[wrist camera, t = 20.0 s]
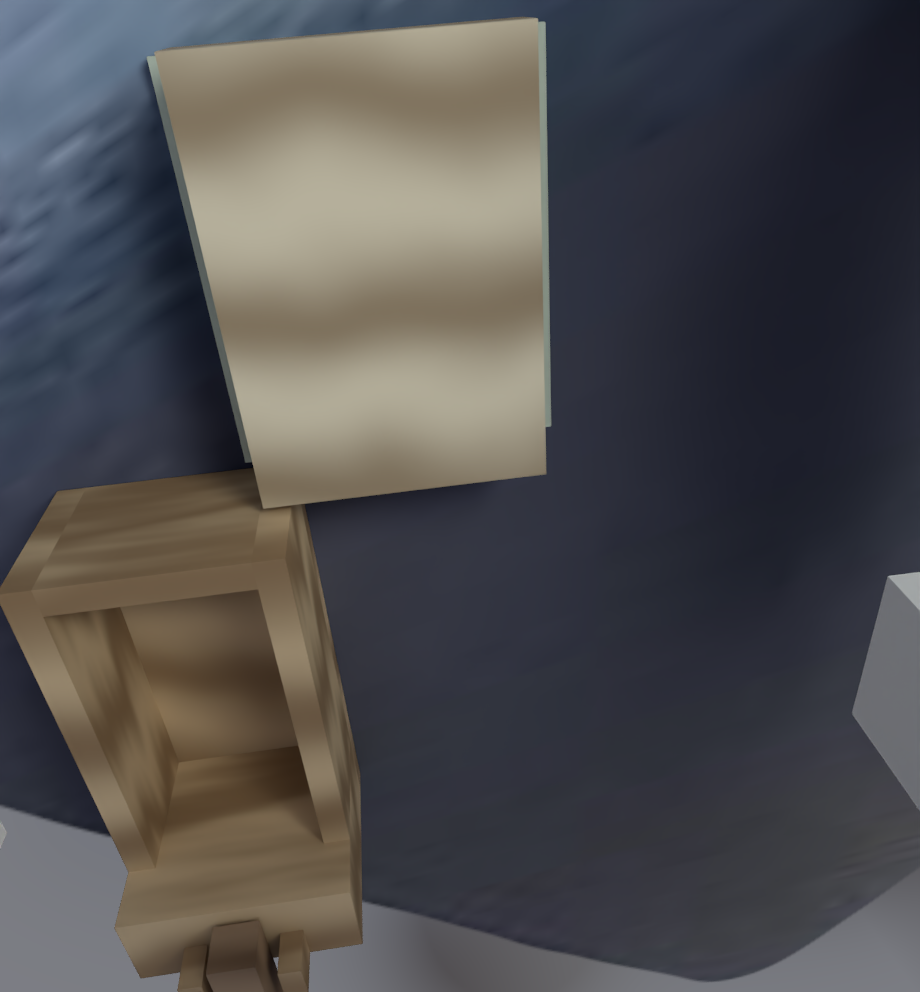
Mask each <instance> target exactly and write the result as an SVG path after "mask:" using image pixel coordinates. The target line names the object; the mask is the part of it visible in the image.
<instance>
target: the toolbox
mask: <svg viewBox="0 0 920 992" xmlns="http://www.w3.org/2000/svg"><path fill="white" fill-rule="evenodd" d="M0 605H1V607H2V609H3V611H4V613H5V615H6V617H7V620H8V622H9V624H10V626H11V628H12V630H13V632H14V634H15V636H16V638H17V640H18V643H19V645H20V647H21V649H22V651H23V653H24V655H25V657H26V659H27V661H28V663H29V666H30V668H31V670H32V672H33V674H34V676H35V678H36V680H37V682H38V684H39V686H40V688H41V691H42V693H43V695H44V697H45V699H46V701H47V703H48V705H49V707H50V709H51V711H52V714H53V716H54V718H55V720H56V722H57V724H58V726H59V728H60V730H61V732H62V734H63V737H64V739H65V741H66V743H67V745H68V747H69V749H70V751H71V753H72V755H73V757H74V760H75V762H76V764H77V766H78V768H79V770H80V772H81V774H82V776H83V778H84V780H85V782H86V785H87V787H88V789H89V791H90V793H91V795H92V797H93V799H94V801H95V803H96V805H97V808H98V810H99V812H100V814H101V816H102V818H103V820H104V822H105V824H106V826H107V828H108V831H109V833H110V835H111V837H112V839H113V841H114V843H115V845H116V847H117V849H118V851H119V854H120V856H121V858H122V860H123V862H124V864H125V866H126V868H127V870H128V876H127V880H126V884H125V888H124V892H123V896H122V900H121V904H120V908H119V912H118V916H117V920H116V924H115V930H116V932H117V934H118V936H119V938H120V940H121V942H122V944H123V946H124V947H125V949H126V951H127V953H128V955H129V957H130V959H131V961H132V963H133V965H134V967H135V968H136V970H137V972H138V974H139V976H140V978H146V977H153V976H159V975H166V974H172V973H178V972H180V978H179V984H178V989H177V991H178V992H213V990H212V988H211V986H210V983H209V981H208V979H207V977H206V970H207V963H208V956H209V949H210V943H211V936H212V929H213V927H219V926H226V925H232V924H239V923H245V922H252V921H258V920H260V923H261V926H262V928H263V931H264V934H265V937H266V940H267V943H268V945H269V948H270V951H271V954H272V957H273V958H274V957H279V961H278V974H277V975H278V977H279V980H280V983H281V986H282V989H283V991H284V992H308V988H309V965H310V952H313V951H320V950H326V949H333V948H339V947H345V946H351V945H358V944H362V943H363V941H362V868H361V799H360V771H359V766H358V761H357V756H356V751H355V747H354V742H353V737H352V732H351V727H350V722H349V717H348V713H347V708H346V703H345V698H344V693H343V688H342V683H341V679H340V674H339V669H338V664H337V659H336V654H335V649H334V645H333V640H332V635H331V630H330V625H329V620H328V615H327V611H326V606H325V601H324V596H323V591H322V586H321V581H320V577H319V572H318V567H317V562H316V557H315V552H314V547H313V543H312V538H311V533H310V528H309V523H308V518H307V513H306V509H305V504H298V505H290V506H282V507H274V508H266V509H263V505H262V501H261V497H260V493H259V489H258V484H257V480H256V476H255V472H254V468H248V469H240V470H231V471H223V472H215V473H206V474H198V475H189V476H181V477H173V478H164V479H156V480H147V481H139V482H131V483H122V484H114V485H105V486H97V487H89V488H80V489H72V490H64V491H57V492H56V494H55V496H54V498H53V499H52V501H51V503H50V504H49V506H48V508H47V509H46V511H45V513H44V514H43V516H42V518H41V519H40V521H39V523H38V525H37V526H36V528H35V530H34V531H33V533H32V535H31V536H30V538H29V540H28V541H27V543H26V545H25V546H24V548H23V550H22V552H21V553H20V555H19V557H18V558H17V560H16V562H15V563H14V565H13V567H12V568H11V570H10V572H9V573H8V575H7V577H6V579H5V580H4V582H3V584H2V585H1V587H0Z"/></svg>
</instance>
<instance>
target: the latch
mask: <svg viewBox="0 0 920 992" xmlns="http://www.w3.org/2000/svg"><path fill="white" fill-rule="evenodd" d="M277 974H278V971H277V968H276V965H275V962H274V960H273V957H272V954H271V951H270V948H269V945H268V943H267V940H266V937H265V934H264V931H263V928H262V926H261V923H260V920H258V921H252V922H245V923H239V924H232V925H226V926H219V927H213V929H212V936H211V943H210V949H209V956H208V963H207V970H206V977H207V979H208V981H209V983H210V986H211V988H212V990H213V992H284V991H283V989H282V986H281V983H280V980H279V977H278V975H277Z"/></svg>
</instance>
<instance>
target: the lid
mask: <svg viewBox="0 0 920 992" xmlns="http://www.w3.org/2000/svg"><path fill="white" fill-rule="evenodd" d="M154 53H155V57H156V61H157V65H158V70H159V74H160V78H161V82H162V86H163V91H164V95H165V99H166V103H167V107H168V112H169V116H170V120H171V124H172V128H173V132H174V137H175V141H176V145H177V149H178V153H179V158H180V162H181V166H182V170H183V174H184V179H185V183H186V187H187V191H188V195H189V199H190V204H191V208H192V212H193V216H194V220H195V225H196V229H197V233H198V237H199V241H200V246H201V250H202V254H203V258H204V262H205V267H206V271H207V275H208V279H209V283H210V287H211V292H212V296H213V300H214V304H215V308H216V313H217V317H218V321H219V325H220V329H221V334H222V338H223V342H224V346H225V350H226V354H227V359H228V363H229V367H230V371H231V375H232V380H233V384H234V388H235V392H236V396H237V401H238V405H239V409H240V413H241V417H242V422H243V426H244V430H245V434H246V438H247V442H248V447H249V451H250V455H251V459H252V463H253V468H254V472H255V476H256V480H257V484H258V489H259V493H260V497H261V501H262V505H263V509H266V508H274V507H282V506H290V505H298V504H306V503H315V502H323V501H331V500H339V499H347V498H355V497H364V496H372V495H380V494H388V493H396V492H404V491H413V490H421V489H429V488H437V487H445V486H453V485H462V484H470V483H478V482H486V481H494V480H502V479H511V478H519V477H527V476H535V475H543V474H546V435H545V381H544V326H543V272H542V218H541V163H540V109H539V54H538V18H530V17H515V18H504V19H492V20H481V21H469V22H458V23H446V24H435V25H423V26H412V27H401V28H389V29H378V30H366V31H355V32H343V33H332V34H321V35H309V36H298V37H286V38H275V39H263V40H252V41H241V42H229V43H218V44H206V45H195V46H183V47H172V48H167V49H163V50H160V51H156V52H154Z"/></svg>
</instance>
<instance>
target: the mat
mask: <svg viewBox="0 0 920 992" xmlns="http://www.w3.org/2000/svg"><path fill="white" fill-rule="evenodd" d="M538 54H539V109H540V163H541V218H542V272H543V326H544V381H545V427H551V382H550V312H549V241H548V170H547V99H546V28H545V22H538ZM147 61H148V65H149V69H150V73H151V77H152V81H153V86H154V90H155V94H156V98H157V102H158V106H159V110H160V114H161V118H162V122H163V127H164V131H165V135H166V139H167V143H168V147H169V151H170V155H171V159H172V163H173V168H174V172H175V176H176V180H177V184H178V188H179V192H180V196H181V200H182V204H183V209H184V213H185V217H186V221H187V225H188V229H189V233H190V237H191V241H192V245H193V250H194V254H195V258H196V262H197V266H198V270H199V274H200V278H201V282H202V286H203V291H204V295H205V299H206V303H207V307H208V311H209V315H210V319H211V323H212V328H213V332H214V336H215V340H216V344H217V348H218V352H219V356H220V360H221V364H222V369H223V373H224V377H225V381H226V385H227V389H228V393H229V397H230V401H231V405H232V410H233V414H234V418H235V422H236V426H237V430H238V434H239V438H240V442H241V446H242V451H243V455H244V459H245V463H248V462H252V459H251V455H250V451H249V447H248V442H247V438H246V434H245V430H244V426H243V422H242V417H241V413H240V409H239V405H238V401H237V396H236V392H235V388H234V384H233V380H232V375H231V371H230V367H229V363H228V359H227V354H226V350H225V346H224V342H223V338H222V334H221V329H220V325H219V321H218V317H217V313H216V308H215V304H214V300H213V296H212V292H211V287H210V283H209V279H208V275H207V271H206V267H205V262H204V258H203V254H202V250H201V246H200V241H199V237H198V233H197V229H196V225H195V220H194V216H193V212H192V208H191V204H190V199H189V195H188V191H187V187H186V183H185V179H184V174H183V170H182V166H181V162H180V158H179V153H178V149H177V145H176V141H175V137H174V132H173V128H172V124H171V120H170V116H169V112H168V107H167V103H166V99H165V95H164V91H163V86H162V82H161V78H160V74H159V70H158V65H157V61H156V57H155V56H148V57H147Z"/></svg>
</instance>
